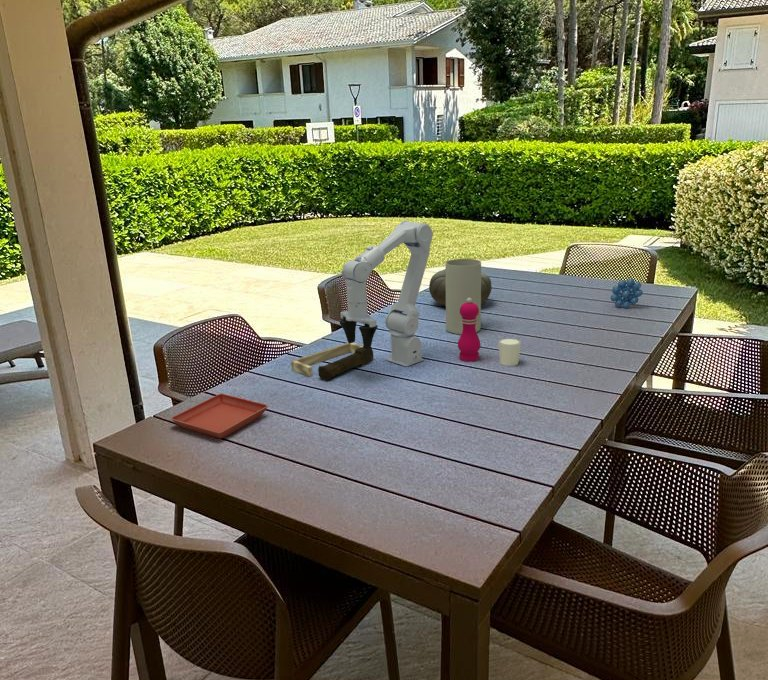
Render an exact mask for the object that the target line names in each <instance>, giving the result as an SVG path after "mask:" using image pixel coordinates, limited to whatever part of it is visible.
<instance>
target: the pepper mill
mask: <svg viewBox="0 0 768 680" xmlns="http://www.w3.org/2000/svg"><path fill="white" fill-rule="evenodd" d="M466 302H467V303H464V304H462V305H461V307H460V315H461V316H462V318H461V320H462V321H461V322H462V323H463V331H462V334H460V336H459V338H458V342H457V348H458V350H459V351H460V352H459V357H458V358H459V360H460V361H463V362H469V363H470V362H471V363H472V362H476V361H478V360H479V359H480V353H479V350H480V349H481V341H480V338H479V336H478V333H477V332H476V323H477V317H476V316H477V315H478V313H479V308H478V306H477V305H476V304H475V303H472V299H471V298H467V300H466Z"/></svg>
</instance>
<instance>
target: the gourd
mask: <svg viewBox="0 0 768 680" xmlns="http://www.w3.org/2000/svg"><path fill="white" fill-rule="evenodd" d="M428 287H429V288H428V289H429V290H428V291H429V294H430V296H431V298H432V299H433V300H434V301H435V302H436V303H438V304H439V305H441V306H445V307H446V268H444V269H441V270H439V271H437V272H435V273H434V274H433V275H432V276H431V278H430V280H429V285H428ZM492 288H493V287H492V280H491V278H490V277H489V275H488V274H486V273H483V272H481V305H482V304H484V303H485V302H486V301H487V300H488V298H489V297H490V295H491V293H492Z"/></svg>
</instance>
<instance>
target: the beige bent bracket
mask: <svg viewBox="0 0 768 680" xmlns="http://www.w3.org/2000/svg"><path fill="white" fill-rule="evenodd" d="M361 347H363V345H361V344H358V343H355V342H353V343H348V342H346V343H343V344H339V345H336V346H333V347H330V348H327V349H325V350H321V351H318V352H317V351H316V352H314V353H311V354H308V355H305V356H302V357H299V358H296V359H294V360H291V361H290V362H291V363H290V364H291V370H292V371H294V372H297V373H298V374H301V375H304V376H306V377H309V378H311V377H313V366H314V365H315V364H319V363H322V362H325V361H327V360H330V359H333V358H334V359H335V358H337V357H340V356H342V355H346V354H348V353H352V354H353V353H355V350H356V349H358V348H361ZM312 365H313V366H312Z"/></svg>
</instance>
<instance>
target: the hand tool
mask: <svg viewBox="0 0 768 680" xmlns="http://www.w3.org/2000/svg"><path fill="white" fill-rule="evenodd" d="M362 346H363V345H362ZM372 360H374V349H373V348H372V347H371V348H368V349H364V346H363V347H361V348H358V349H356V350H355V353H352V354H349V355H347V356H344V357H342V358H340V359H338V360H335V361H333V362H330V363H327V364H325V365H319V366H318V367H317V368H318V369H317V372H318V377H319V379H320V380H323V381H325V382H327V381H330V379H334V377H335V376H338V375H340V374H342V373H345V372H347V371H349V370H351V369H354V368H356V367H357V366H358V365H359V366H358V367H363V365H364V366H365V365H367V364H368V363H370V362H371V361H372Z"/></svg>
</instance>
